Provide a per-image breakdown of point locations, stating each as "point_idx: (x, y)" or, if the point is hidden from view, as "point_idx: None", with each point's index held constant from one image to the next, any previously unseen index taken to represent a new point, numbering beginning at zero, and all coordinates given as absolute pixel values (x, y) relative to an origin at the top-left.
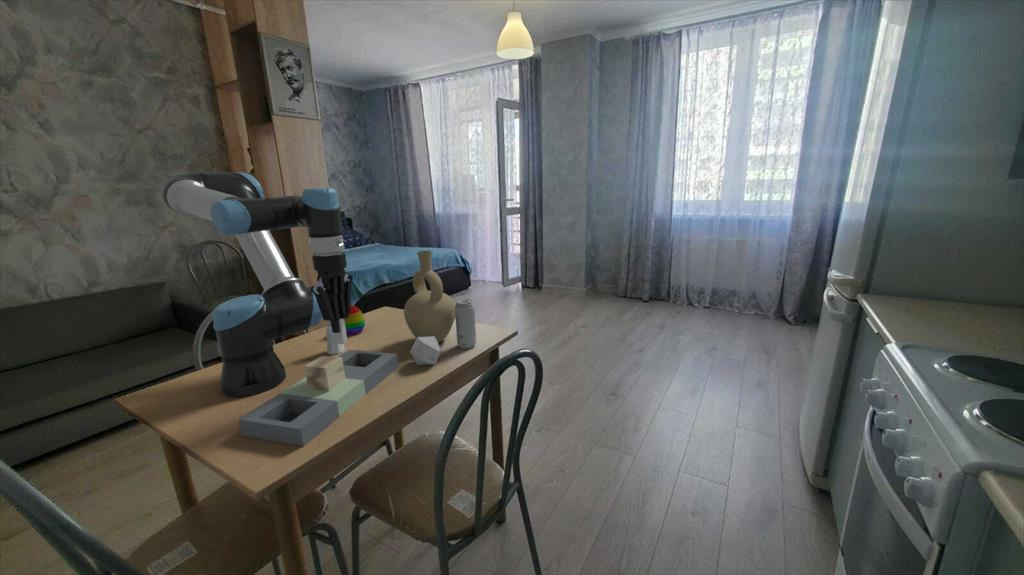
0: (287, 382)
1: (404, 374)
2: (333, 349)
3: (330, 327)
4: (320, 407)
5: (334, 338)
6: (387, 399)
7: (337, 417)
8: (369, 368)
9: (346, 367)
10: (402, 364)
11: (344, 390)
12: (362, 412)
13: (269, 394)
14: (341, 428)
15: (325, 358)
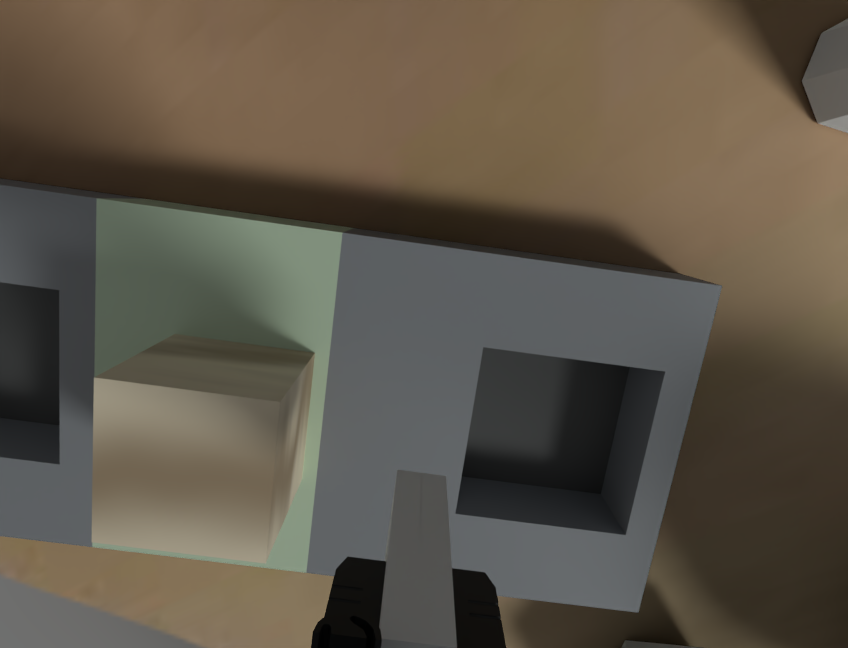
0: (404, 23)
1: (526, 614)
2: (832, 83)
3: None
4: (21, 504)
5: (394, 495)
6: (294, 628)
7: None
8: None
9: (447, 408)
10: None
11: None
12: (182, 575)
13: (260, 12)
14: (63, 550)
15: (234, 457)
